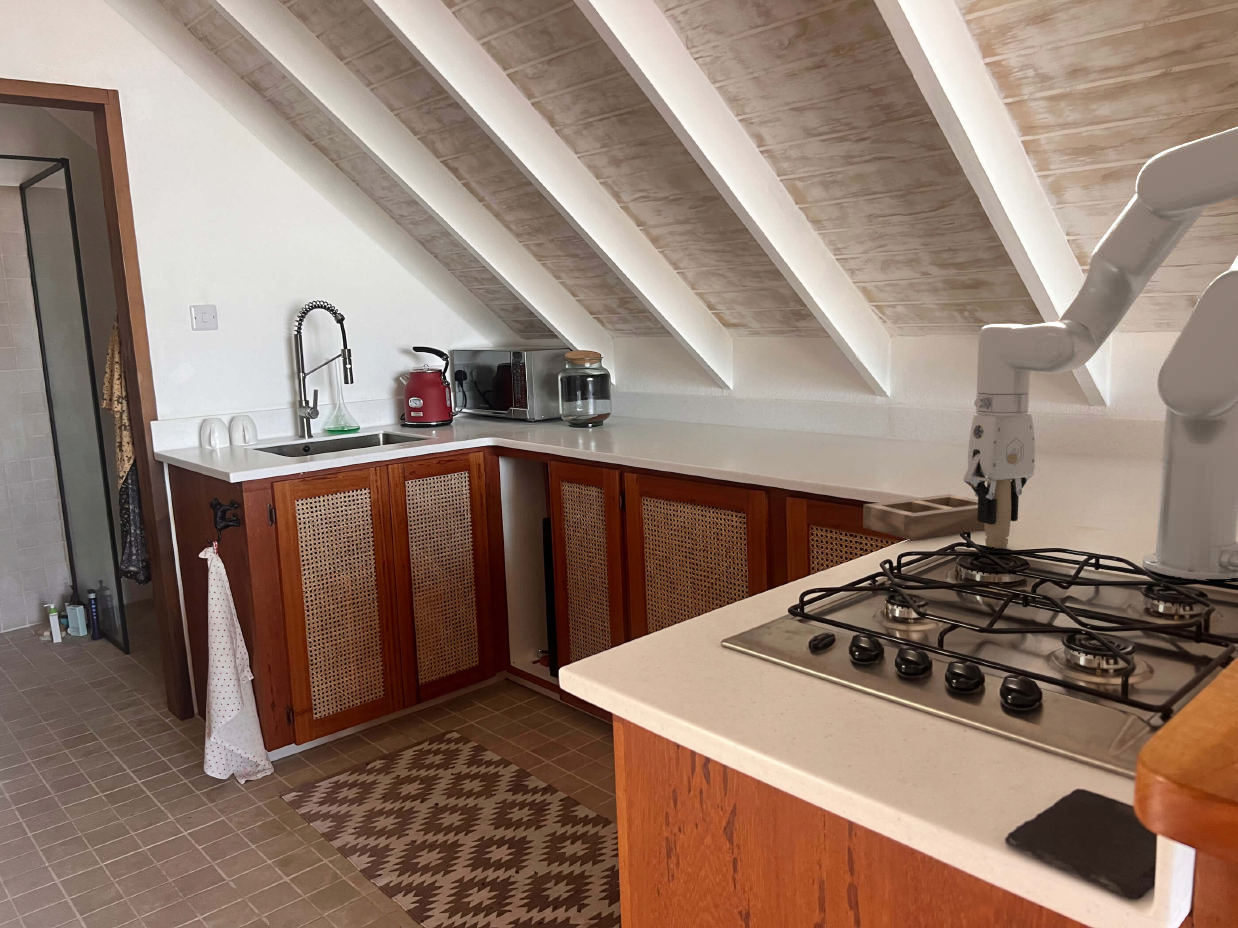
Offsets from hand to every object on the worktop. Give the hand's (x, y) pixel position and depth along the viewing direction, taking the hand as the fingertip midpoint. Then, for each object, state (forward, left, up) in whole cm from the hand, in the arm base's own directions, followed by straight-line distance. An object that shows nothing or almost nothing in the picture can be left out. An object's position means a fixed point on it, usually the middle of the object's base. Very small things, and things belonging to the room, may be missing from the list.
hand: (997, 520), depth 150 cm
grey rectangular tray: (+16, -2, -4) cm, 17 cm away
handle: (0, 0, -4) cm, 4 cm away
